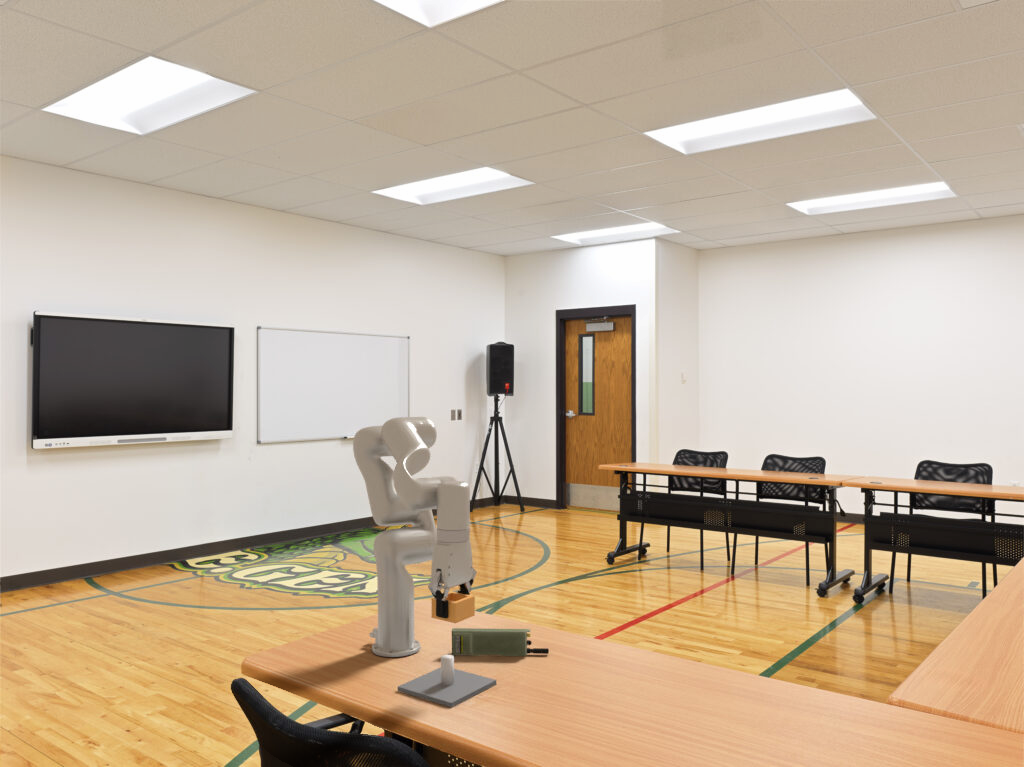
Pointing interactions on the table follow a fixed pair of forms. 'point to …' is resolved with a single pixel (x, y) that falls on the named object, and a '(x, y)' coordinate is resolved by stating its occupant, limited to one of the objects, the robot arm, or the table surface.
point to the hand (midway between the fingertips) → (453, 612)
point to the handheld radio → (492, 642)
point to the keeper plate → (447, 692)
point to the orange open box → (457, 607)
